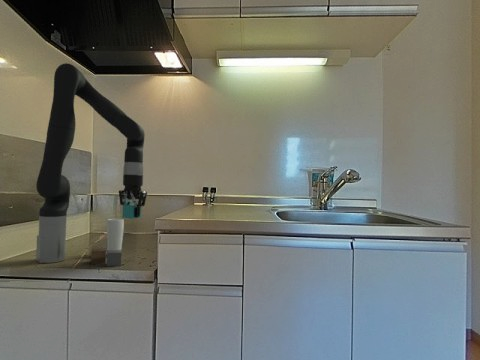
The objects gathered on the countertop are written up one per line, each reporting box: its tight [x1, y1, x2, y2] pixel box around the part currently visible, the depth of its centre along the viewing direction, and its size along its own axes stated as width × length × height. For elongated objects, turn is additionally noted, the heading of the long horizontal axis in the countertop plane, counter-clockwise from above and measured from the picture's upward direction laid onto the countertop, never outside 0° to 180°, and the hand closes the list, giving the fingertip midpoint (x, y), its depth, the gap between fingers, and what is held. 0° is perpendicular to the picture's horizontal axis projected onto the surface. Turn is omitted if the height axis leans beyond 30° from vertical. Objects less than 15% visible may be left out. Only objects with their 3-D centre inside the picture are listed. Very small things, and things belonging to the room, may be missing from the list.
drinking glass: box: [106, 218, 125, 251], centre depth 142 cm, size 7×7×15 cm
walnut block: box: [90, 247, 107, 265], centre depth 129 cm, size 5×5×5 cm
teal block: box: [121, 204, 142, 220], centre depth 134 cm, size 5×5×5 cm
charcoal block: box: [106, 249, 122, 268], centre depth 126 cm, size 5×5×5 cm
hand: (131, 216), depth 134 cm, fingers closed on teal block, 5 cm apart
